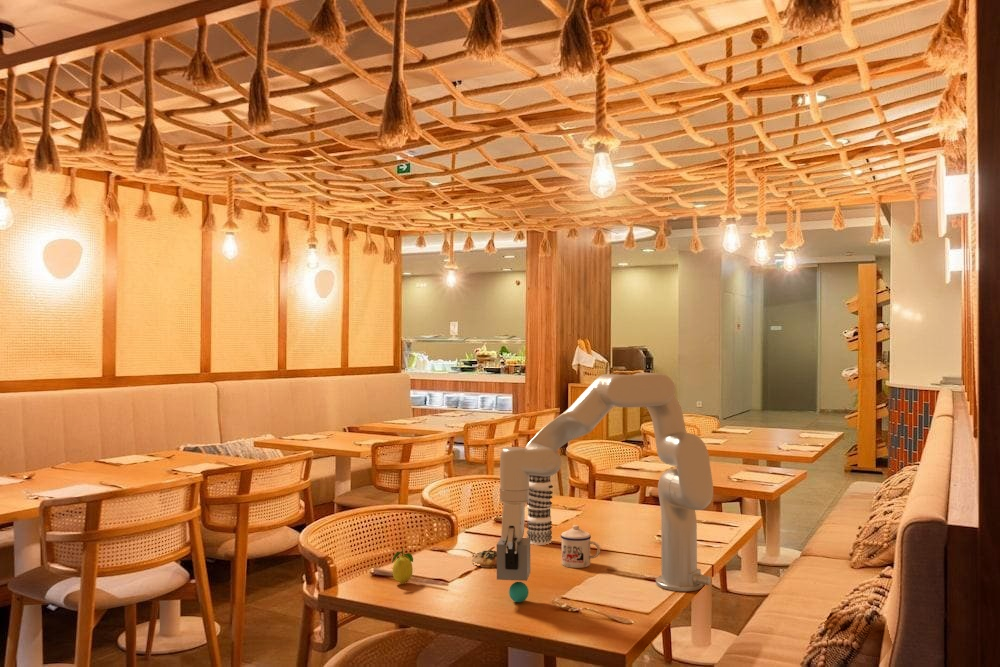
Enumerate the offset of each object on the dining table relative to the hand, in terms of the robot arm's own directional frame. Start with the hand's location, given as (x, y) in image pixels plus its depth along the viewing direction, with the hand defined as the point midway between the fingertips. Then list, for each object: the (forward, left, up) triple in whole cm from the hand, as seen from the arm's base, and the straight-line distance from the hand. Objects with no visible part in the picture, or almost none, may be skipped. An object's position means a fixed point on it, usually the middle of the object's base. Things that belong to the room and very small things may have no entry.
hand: (513, 564), depth 192 cm
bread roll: (+28, -23, -10) cm, 38 cm away
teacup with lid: (+5, -39, -10) cm, 41 cm away
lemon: (+33, +8, -10) cm, 35 cm away
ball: (-1, -1, -7) cm, 7 cm away
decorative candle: (+31, -54, -10) cm, 63 cm away
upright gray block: (0, 0, -3) cm, 3 cm away
